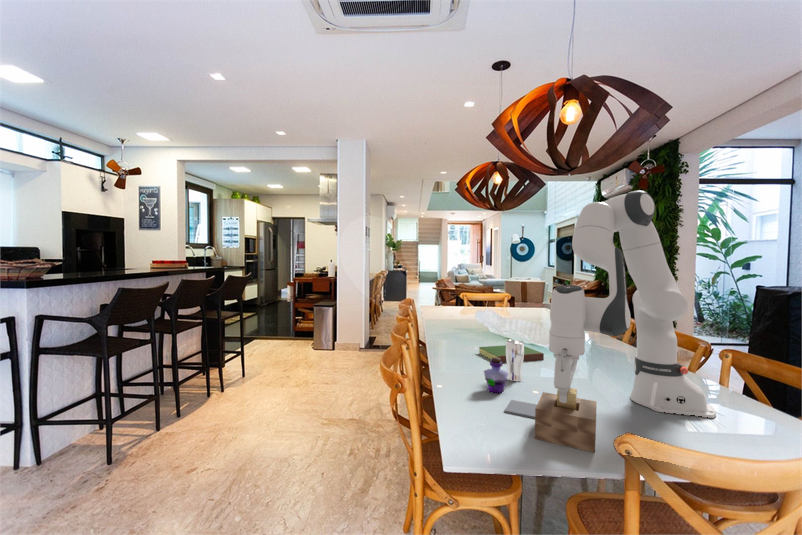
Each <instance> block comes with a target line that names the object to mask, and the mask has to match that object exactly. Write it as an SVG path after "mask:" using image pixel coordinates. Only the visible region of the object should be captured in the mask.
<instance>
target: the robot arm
mask: <svg viewBox="0 0 802 535" xmlns="http://www.w3.org/2000/svg"><path fill="white" fill-rule="evenodd" d="M655 212H656V204H655V201H654V199H653V197H652V196H651V194H650V193H648V192H647V191H644V190H634V191H628V192H627V193H624V194H620V195H616V196H614V197H611V198H608V199H606V200H604V201H601V202H600V201H594V202H590V203H587V204H586V205H585V206H584V207H583V208H581V211H580V213H579V215H578V218H577V220H576V223H575V226H574V230H573V236H572V241H571V248H572V251H573V253H574V254H575V255H576V257H577V258H579V259H580V260H581V261H582V262H585V263H586V264H588V265H592V266H596V267H597V268H600V269H602V270H604V271H606V272H607V273H608V285H609V286H608V289H609V294H608V296H607V297H591V296H585V289H584V288H583V287H582V286H578V285H574V284H573V285H572V284H564V285H559V286H556V287H555V288H554V289H553V291H552V295H551V299H550V308H549V320H550V323H551V324H550V329H549V332H548V333H549V336H548V351H550V352H551V353H553V358H555V363H554V374H553V375H554V376H553V385H554V388H555V389H556V390H558V391H559V401H560V402H561V403H566V402H567V391H568V390H569V389H570V388H571V387H572V386H571V385H572V382H573V378H574V377H575V373H576V369H577V363H578V361H579V360H580V357H581V356H584V355H585V353H586V352H585V351H586V347H585V346H586V332H591V333H596V334H597V333H599V334H602V335H605V336H611V337H614V338H615V337H618V336H620V335H622V334H624V333H626V332H627V331H629V329H630V327H631V326H630V325H631V321H632V319H631V318H632V317H631V311H630V308H629V300H628V288H627V275H626V274H627V272H628V274H629V275H630V277H631V279H632V280H633V283H634V285H635V287H636V290H635V292H634V293H633V294H632V300H631V301H632V305H633V313H634V314H633V315H634V322H635V329H636V356H635V357H634V368H633V370H634V371H633V372H634V374H635V375H634V381H633V387H632V390H631V393H630V395H629V398H630V400H631V401H633V402H634V403H637V405H638V404H639V405H640V406H643V407H646V408H649V409H651V410H653V411H655V412H657V413H664V412H665V413H667V414H673V413H676V414H675V415H681V414H684V416H690V415H695V416H694V417H698V416H702V417H701V418H707V417H708V418H709V419H713V418H716V416H717V411H716V410H715V408H714V407H713V405H711V404H709V403H708V402H707V398H706V395H705V392H704V391H703V389H702V388H701V387H699V385H697V384H696V383H695V382H693V381H692V380H691V379H689V377H687V376H686V375H688V374H689V369H688V368H687V367H686V366H685V365H682V364H681V363H679V362H678V360H677V359H678V337H677V334H676V332H675V328H674V323H673V322H675V321H678V320H680V319H682V318H683V317H684V316H685V315H686V313H687V312H688V310H689V309H688V308H689V306H688V300H687V299H686V297H685V296H684V295H683V293H682V292H681V289H680V287H679V285H678V283H677V281H676V279H675V277H674V275H673V274H672V272H671V269H670V267H669V265H668V262H667V258H666V254H665V251H664V249H663V245H662V242H661V239H660V236H659V232H658V231H657V229H656V227H655V224H654V223H653V221H652V220H653V218H654V216H655V214H656V213H655ZM617 232H618V234H619V240H620V247H621V248H619V247H616V246H615V244H614V233H617ZM626 267H627V272H626Z"/></svg>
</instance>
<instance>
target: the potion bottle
mask: <svg viewBox="0 0 802 535" xmlns="http://www.w3.org/2000/svg"><path fill="white" fill-rule="evenodd" d="M503 364H504V363H503V362H501V359H500V358H492V360H491V359H490V361H489V366H491V368H487V369H485V370H483V373H484V374H483V375H484V379H485V381H486V384H487V385H486V386H487V391H488V390H489V391H490V392H493V393H502V392H504V390H505V387H506V383H507V381H508V380H507V378H508V373H507V371H506V370H503V369H501V367H503ZM489 391H488V392H489ZM490 392H489V393H490ZM493 393H492V394H493ZM502 394H503V393H502Z"/></svg>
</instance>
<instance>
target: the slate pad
mask: <svg viewBox="0 0 802 535" xmlns="http://www.w3.org/2000/svg"><path fill="white" fill-rule="evenodd" d="M537 404H538V403H530V402H525V401H520V400H515V399H511V400H510V401H509V402H508V404H507V405H506V407H505V408H504V411H503V412H504V413H506V414H509V415H510V414H511V415H515V416H521V417H525V418H529V419H534V420H535V408H536V406H537Z"/></svg>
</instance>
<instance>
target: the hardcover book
mask: <svg viewBox="0 0 802 535" xmlns="http://www.w3.org/2000/svg"><path fill="white" fill-rule="evenodd" d="M478 349H479V351H478V354H479V353H481V354H482V356H483V355H484V356H483V357H485V356H486V357H485V358H487V357H488V358H487V359H489V358H490V359H489V360H491V359H492V358H500V359H501V362H503V363H502V364H507V363H506V362H507V361H506V345H494V346H493V345H492V346H491V345H488V346H478ZM481 354H480V355H481ZM544 355H545V353H543V352H541V351H538V350H536V349H533V348H530V347H528V346H525V345H524V359H523V361H526V362H536V361H538V360H539V361H544V359H545V358H544Z"/></svg>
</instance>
